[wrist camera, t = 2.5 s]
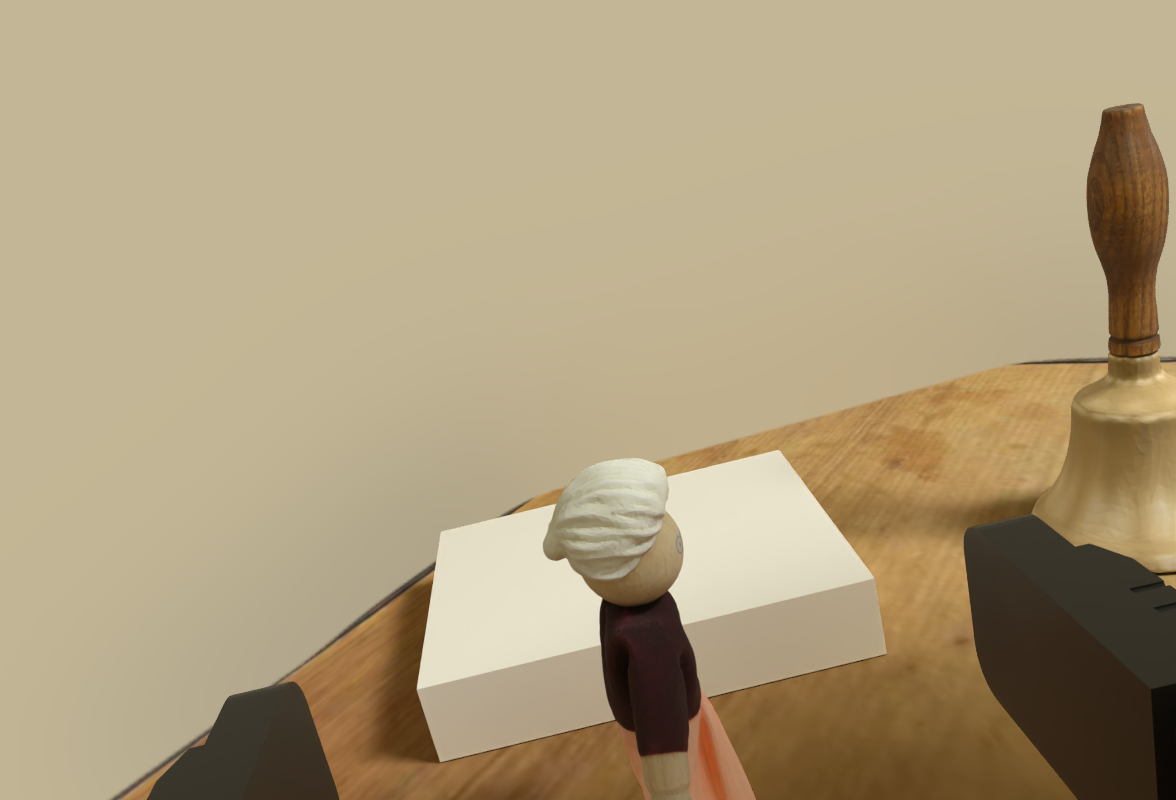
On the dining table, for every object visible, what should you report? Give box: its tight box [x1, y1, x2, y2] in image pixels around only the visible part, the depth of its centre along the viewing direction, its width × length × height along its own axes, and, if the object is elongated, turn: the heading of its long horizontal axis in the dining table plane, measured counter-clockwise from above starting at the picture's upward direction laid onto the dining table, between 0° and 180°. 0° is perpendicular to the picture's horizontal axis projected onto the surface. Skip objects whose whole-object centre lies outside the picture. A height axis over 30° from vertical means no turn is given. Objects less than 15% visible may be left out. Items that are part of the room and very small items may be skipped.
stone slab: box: [417, 450, 887, 762], centre depth 42 cm, size 16×13×3 cm
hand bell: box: [1031, 103, 1176, 573], centre depth 38 cm, size 8×8×16 cm
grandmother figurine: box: [543, 458, 756, 800], centre depth 26 cm, size 8×4×13 cm, turn 14°
